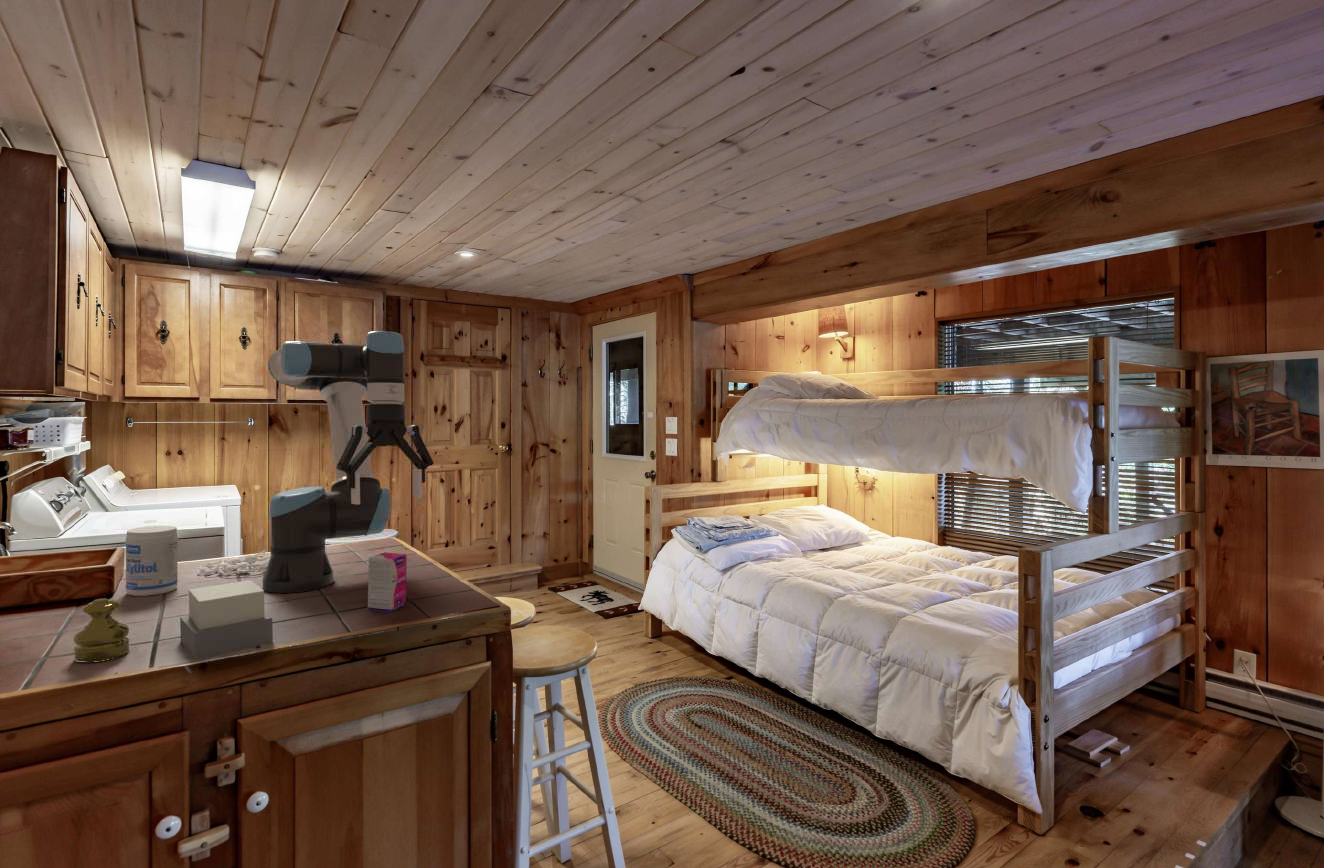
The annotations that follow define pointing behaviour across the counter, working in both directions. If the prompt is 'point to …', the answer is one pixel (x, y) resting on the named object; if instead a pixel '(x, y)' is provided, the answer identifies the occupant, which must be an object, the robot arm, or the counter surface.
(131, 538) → the supplement tub
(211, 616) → the tower top
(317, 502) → the robot arm
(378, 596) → the supplement box
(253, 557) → the tangled rod sculpture
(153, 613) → the counter surface
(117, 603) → the olive coiled snake figurine
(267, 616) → the tower base
